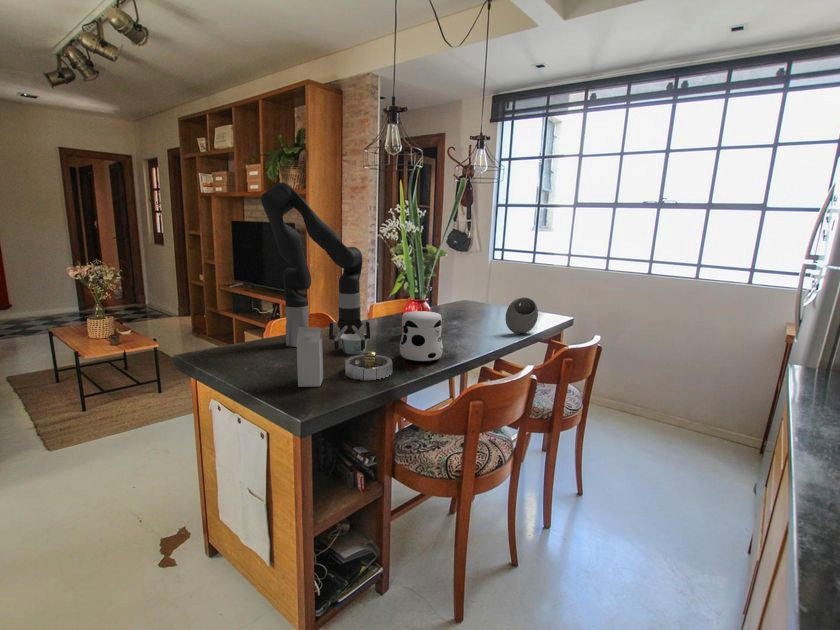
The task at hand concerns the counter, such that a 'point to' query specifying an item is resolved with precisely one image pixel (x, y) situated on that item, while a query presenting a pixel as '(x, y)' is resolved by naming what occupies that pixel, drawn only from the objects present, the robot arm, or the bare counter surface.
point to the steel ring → (358, 372)
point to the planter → (521, 315)
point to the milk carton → (309, 356)
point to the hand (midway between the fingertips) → (349, 350)
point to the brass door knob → (369, 359)
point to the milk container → (421, 336)
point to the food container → (352, 343)
